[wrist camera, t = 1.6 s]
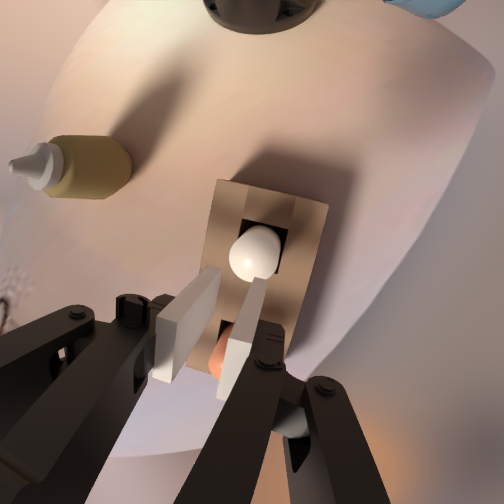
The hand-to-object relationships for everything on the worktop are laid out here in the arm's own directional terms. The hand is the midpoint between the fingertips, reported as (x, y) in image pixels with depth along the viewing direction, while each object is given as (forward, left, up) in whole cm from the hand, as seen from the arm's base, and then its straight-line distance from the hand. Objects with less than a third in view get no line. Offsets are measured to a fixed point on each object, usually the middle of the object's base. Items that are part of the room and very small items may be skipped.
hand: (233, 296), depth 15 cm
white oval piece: (0, 0, -14) cm, 14 cm away
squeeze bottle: (-4, -22, -20) cm, 29 cm away
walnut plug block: (+6, 0, -19) cm, 20 cm away
